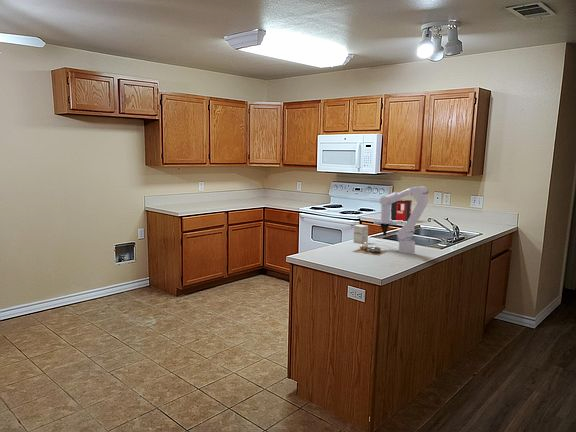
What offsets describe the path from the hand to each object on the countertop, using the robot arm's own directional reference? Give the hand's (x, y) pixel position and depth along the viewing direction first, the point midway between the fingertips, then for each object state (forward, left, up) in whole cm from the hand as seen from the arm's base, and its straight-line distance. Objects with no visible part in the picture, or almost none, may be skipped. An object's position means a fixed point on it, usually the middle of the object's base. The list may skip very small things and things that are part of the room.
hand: (384, 235), depth 284 cm
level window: (+10, +16, -8) cm, 20 cm away
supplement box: (+21, -10, -10) cm, 25 cm away
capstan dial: (+4, +15, -8) cm, 18 cm away
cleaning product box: (+32, -126, -10) cm, 131 cm away
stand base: (+3, +16, -9) cm, 19 cm away
